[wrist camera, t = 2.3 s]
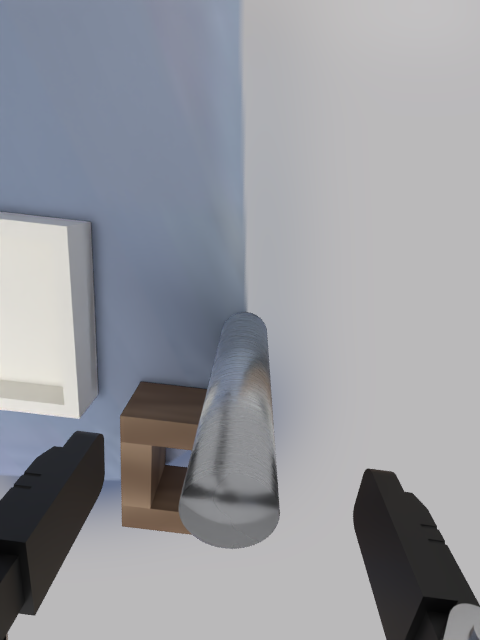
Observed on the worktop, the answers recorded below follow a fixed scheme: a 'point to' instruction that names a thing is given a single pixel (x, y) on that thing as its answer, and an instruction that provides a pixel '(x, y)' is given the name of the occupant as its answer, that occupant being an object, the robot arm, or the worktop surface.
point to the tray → (47, 316)
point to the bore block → (156, 453)
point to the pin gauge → (234, 444)
